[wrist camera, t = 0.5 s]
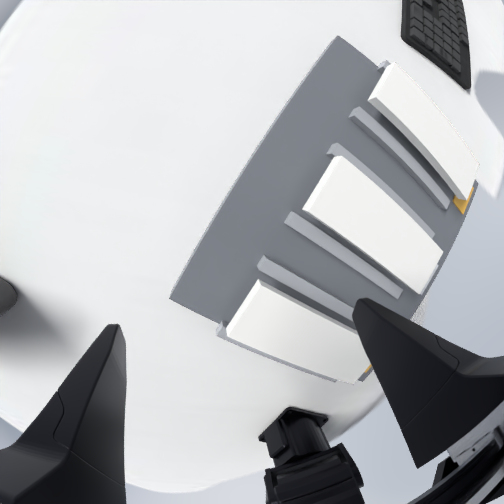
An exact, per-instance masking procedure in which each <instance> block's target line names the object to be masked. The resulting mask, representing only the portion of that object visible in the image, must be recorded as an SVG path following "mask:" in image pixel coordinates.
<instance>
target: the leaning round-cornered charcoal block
mask: <svg viewBox="0 0 504 504" xmlns="http://www.w3.org/2000/svg"><path fill="white" fill-rule="evenodd" d="M16 301H17V294H16V292H15V290H14V289H13V287H12V286H11V285H10V284H9V283H8V282H6V281H5V280H3V279H2V278H0V317H1V316H2V315H3V314H4V313H5V312H7V311H8V310H9V309H10V308H12V307H13V306H14V305H15V303H16Z"/></svg>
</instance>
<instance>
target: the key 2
mask: <svg viewBox="0 0 504 504" xmlns="http://www.w3.org/2000/svg"><path fill="white" fill-rule="evenodd" d="M367 101H369V102H370V103H371V104H372V105H373V106H374V107H375V108H376V109H378V110H379V111H380V112H381V113H382V114H383V115H384V116H385V117H386V118H387V119H388V120H389V121H390V122H391V123H393V124H394V125H395V126H396V127H397V128H398V129H399V130H400V131H401V132H402V133H403V134H404V135H405V136H406V137H407V139H408V140H409V141H410V142H411V143H412V144H413V145H414V146H415V147H416V148H417V149H418V150H419V151H420V152H421V154H422V155H423V156H424V157H425V158H426V159H427V160H428V162H429V163H430V164H431V165H432V166H433V167H434V169H435V170H436V171H437V172H438V173H439V175H440V176H441V177H442V178H443V180H444V181H445V182H446V183H447V185H448V186H449V187H450V189H451V190H452V191H453V193H454V194H455V195H456V197H457V198H458V199H462V200H467V199H468V196H469V194H470V191H471V189H472V186H473V183H474V181H475V178H476V175H477V172H478V169H479V166H480V164H479V162H478V161H477V159H476V158H475V156H474V154H473V153H472V151H471V150H470V148H469V147H468V146H467V144H466V143H465V141H464V140H463V138H462V137H461V136H460V134H459V133H458V132H457V130H456V129H455V128H454V126H453V125H452V124H451V122H450V121H449V120H448V119H447V117H446V116H445V115H444V114H443V112H442V111H441V110H440V109H439V108H438V106H437V105H436V104H435V103H434V102H433V101H432V99H431V98H430V97H429V96H428V95H427V94H426V93H425V92H424V90H423V89H422V88H421V87H420V86H419V85H418V84H417V83H416V82H415V81H414V80H413V79H412V78H411V77H410V76H409V75H408V74H407V73H406V72H405V71H404V70H403V69H402V68H401V67H400V66H399V65H398V64H397V63H396V62H395V63H393V64H391V65H389V66H387V67H386V69H385V71H384V73H383V74H382V76H381V78H380V80H379V81H378V83H377V85H376V87H375V88H374V90H373V92H372V93H371V95H370V97H369V99H368V100H367Z"/></svg>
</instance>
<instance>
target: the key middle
mask: <svg viewBox="0 0 504 504" xmlns="http://www.w3.org/2000/svg"><path fill="white" fill-rule="evenodd" d="M302 210H304V211H305V212H307V213H308V214H310V215H311V216H312V217H314V218H315V219H317V220H318V221H320V222H321V223H323V224H324V225H325V226H327V227H328V228H330V229H331V230H333V231H334V232H335V233H337V234H338V235H340V236H341V237H342V238H344V239H345V240H347V241H348V242H349V243H351V244H352V245H354V246H355V247H356V248H358V249H359V250H360V251H362V252H363V253H364V254H366V255H367V256H368V257H370V258H371V259H372V260H374V261H375V262H376V263H378V264H379V265H380V266H382V267H383V268H384V269H386V270H387V271H388V272H389V273H391V274H392V275H393V276H395V277H396V278H397V279H398V280H400V281H401V282H402V283H403V284H405V285H406V286H407V287H408V288H410V289H411V290H412V291H414V292H416V293H417V294H420V293H421V291H422V289H423V288H424V286H425V284H426V283H427V281H428V279H429V277H430V276H431V274H432V272H433V270H434V269H435V267H436V265H437V263H438V261H439V259H440V257H441V256H442V254H443V251H442V250H441V248H440V247H439V246H438V245H437V244H436V243H435V242H434V241H433V240H432V239H431V238H430V236H429V235H428V234H427V233H426V232H425V231H424V230H423V229H422V228H421V227H420V226H419V225H418V224H417V223H416V222H415V221H414V220H413V219H412V218H411V217H410V216H409V215H408V214H407V213H406V212H405V211H404V210H403V209H402V208H401V207H400V206H399V205H398V204H397V203H396V202H395V201H394V200H393V199H392V198H390V197H389V196H388V195H387V194H386V193H385V192H384V191H383V190H382V189H381V188H380V187H378V186H377V185H376V184H375V183H374V182H373V181H372V180H370V179H369V178H368V177H367V176H366V175H365V174H363V173H362V172H361V171H360V170H359V169H358V168H356V167H355V166H354V165H353V164H352V163H350V162H349V161H348V160H347V159H345V158H344V157H343V156H336V157H334V158H333V159H332V161H331V163H330V164H329V166H328V168H327V169H326V171H325V173H324V174H323V176H322V178H321V179H320V181H319V183H318V184H317V186H316V187H315V189H314V191H313V192H312V194H311V196H310V197H309V199H308V200H307V202H306V204H305V205H304V207H303V209H302Z"/></svg>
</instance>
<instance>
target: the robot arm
mask: <svg viewBox="0 0 504 504" xmlns="http://www.w3.org/2000/svg"><path fill="white" fill-rule="evenodd" d="M352 319H353V322H354V325H355V327H356V330H357V333H358V335H359V338H360V341H361V343H362V346H363V348H364V351H365V353H366V355H367V357H368V359H369V361H370V363H371V365H372V367H373V369H374V371H375V373H376V376H377V378H378V380H379V382H380V384H381V386H382V388H383V390H384V393H385V395H386V397H387V399H388V401H389V404H390V406H391V408H392V410H393V412H394V415H395V417H396V419H397V422H398V424H399V426H400V429H401V431H402V433H403V436H404V438H405V440H406V443H407V445H408V447H409V450H410V453H411V455H412V458H413V460H414V463H415V465H416V467H417V469H418V468H420V467H421V466H423V465H424V464H426V463H428V462H429V461H430V460H432V459H434V458H435V457H437V456H438V455H439V454H441V453H442V452H444V451H445V450H447V452H448V453H449V455H450V456H448V457H447V458H446V459H445V460H443V461H442V462H440V463H439V464H438V467H437V471H436V474H435V479H434V482H433V486H432V488H430V489H429V490H428V491H426V492H425V493H423V494H422V495H420V496H419V497H418V498H416V499H414V500H412V501H411V502H409V503H408V504H486V503H488V502H490V501H492V500H494V499H497V498H498V497H500V496H502V495H504V356H500V357H494V358H485V357H481V356H478V355H476V354H474V353H472V352H470V351H467V350H465V349H463V348H461V347H459V346H457V345H455V344H453V343H451V342H449V341H447V340H445V339H443V338H441V337H439V336H438V335H435V334H434V333H432V332H430V331H429V330H427V329H425V328H423V327H421V326H419V325H418V324H416V323H414V322H412V321H410V320H408V319H407V318H405V317H403V316H401V315H399V314H397V313H396V312H394V311H392V310H390V309H388V308H386V307H384V306H383V305H381V304H379V303H377V302H375V301H373V300H371V299H370V298H367V297H364V298H359V299H358V300H357V301H356V304H355V307H354V310H353V313H352ZM126 384H127V380H126V343H125V339H124V336H123V333H122V330H121V327H120V325H119V324H108V325H107V326H106V327H105V328H104V330H103V331H102V332H101V333H100V335H99V336H98V337H97V338H96V340H95V341H94V342H93V343H92V345H91V346H90V347H89V349H88V350H87V351H86V352H85V354H84V355H83V356H82V358H81V359H80V360H79V361H78V363H77V364H76V365H75V367H74V368H73V369H72V371H71V372H70V373H69V375H68V376H67V377H66V379H65V380H64V382H63V383H62V384H61V386H60V387H59V388H58V391H56V392H55V394H54V395H53V397H52V398H51V399H50V401H49V402H48V403H47V405H46V406H45V408H44V409H43V410H42V411H41V412H40V414H39V415H38V416H37V417H36V419H35V420H34V421H33V422H32V423H31V424H30V426H29V427H28V428H27V429H26V430H25V431H24V433H23V434H22V435H21V436H20V437H19V439H18V440H17V441H16V442H15V443H13V444H12V445H11V446H9V447H7V448H5V449H1V450H0V504H126V492H125V474H124V422H125V401H126ZM327 421H328V417H327V416H325V415H321V414H316V413H312V412H308V411H304V410H300V409H296V408H292V407H288V408H286V409H285V410H284V411H283V412H282V413H281V414H280V415H279V416H278V418H277V419H276V420H275V421H274V422H273V423H272V424H271V425H270V426H269V427H268V428H267V429H266V430H265V431H264V432H263V433H262V434H261V435H260V436H259V437H258V439H259V441H261V442H266V443H267V447H268V451H269V455H270V457H271V458H273V461H274V464H275V468H271V469H270V468H268V469H265V472H266V475H265V476H264V481H265V485H266V504H365V502H364V500H363V497H362V494H361V492H360V489H359V488H361V487H363V486H364V483H363V480H362V477H361V474H360V472H359V470H358V468H357V466H356V464H355V462H354V461H353V459H352V458H351V456H350V455H349V453H348V451H347V450H346V448H345V447H344V445H343V444H342V443H340V444H338V445H337V446H335V447H332V448H330V445H329V443H328V441H327V439H326V437H325V435H324V433H323V431H322V428H321V427H322V426H323V425H324V424H325V423H326V422H327Z"/></svg>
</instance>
